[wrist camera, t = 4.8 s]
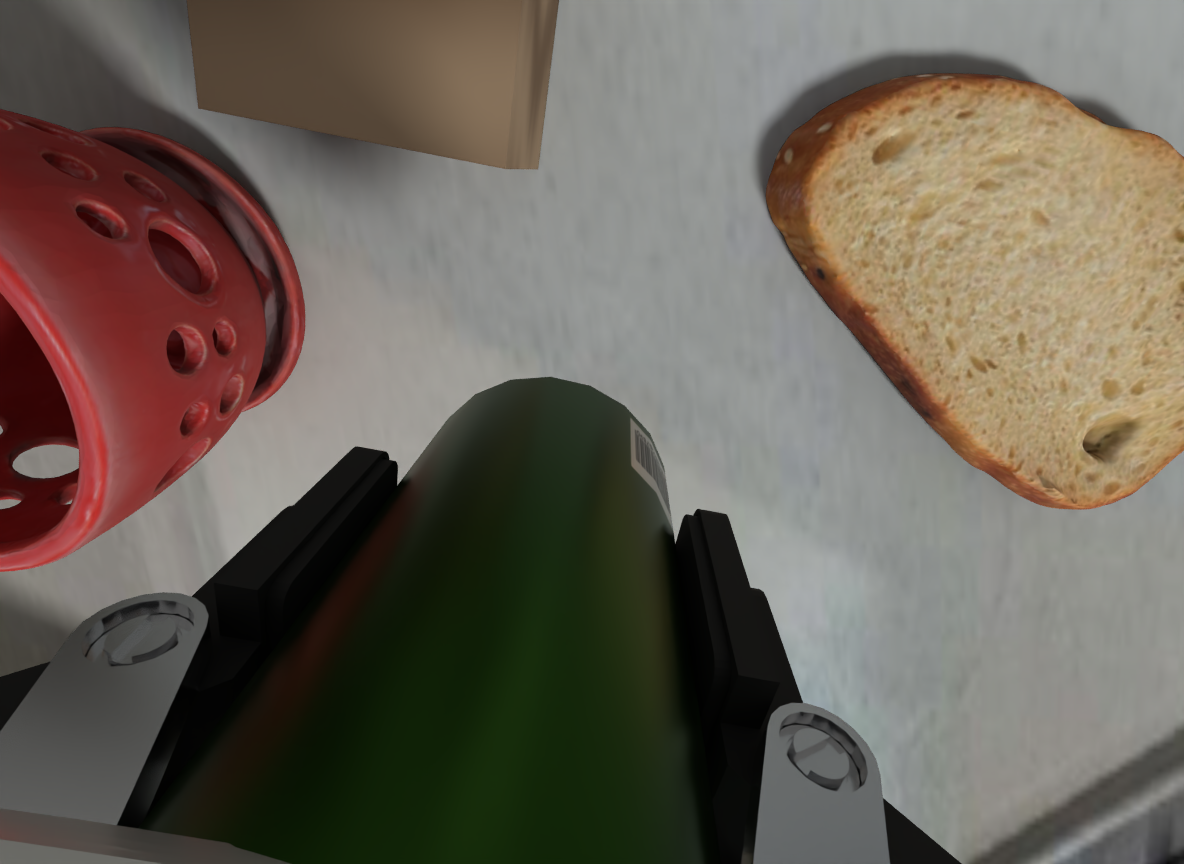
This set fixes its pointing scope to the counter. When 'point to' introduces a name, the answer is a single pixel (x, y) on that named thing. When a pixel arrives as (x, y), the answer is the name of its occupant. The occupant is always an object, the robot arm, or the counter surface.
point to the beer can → (480, 666)
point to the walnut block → (384, 71)
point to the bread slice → (1003, 273)
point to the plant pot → (126, 322)
